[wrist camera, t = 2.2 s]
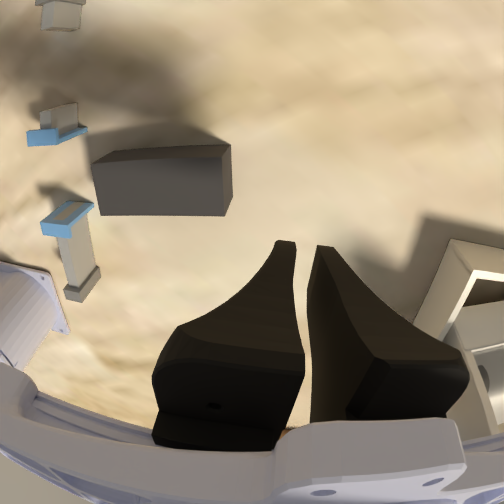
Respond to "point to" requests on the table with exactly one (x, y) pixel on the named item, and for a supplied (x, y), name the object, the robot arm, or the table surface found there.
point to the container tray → (457, 285)
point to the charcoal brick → (165, 181)
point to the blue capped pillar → (53, 133)
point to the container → (479, 369)
